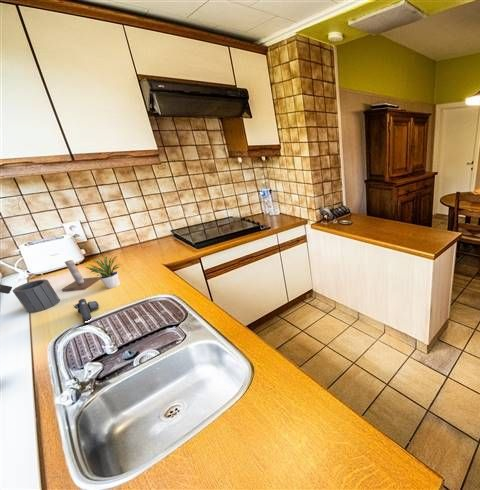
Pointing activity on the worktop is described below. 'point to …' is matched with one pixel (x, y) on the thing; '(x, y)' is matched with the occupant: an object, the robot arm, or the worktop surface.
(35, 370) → the worktop surface
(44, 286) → the grey ribbed cylinder
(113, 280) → the house plant
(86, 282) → the tape stand
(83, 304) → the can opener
